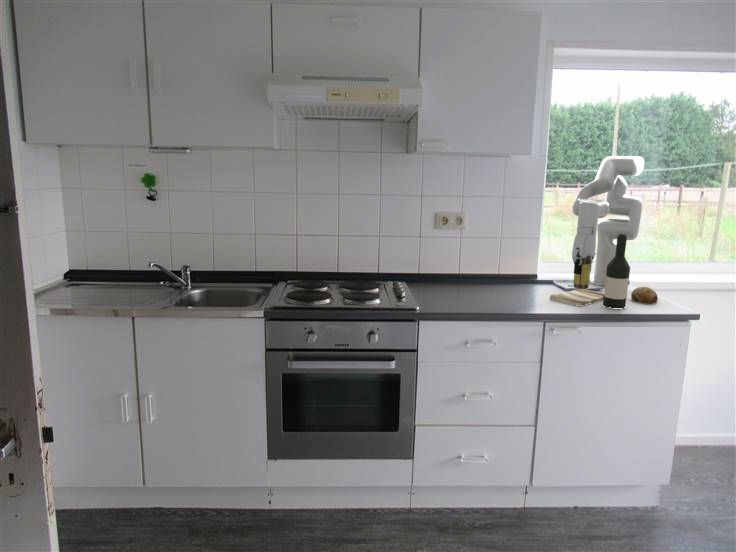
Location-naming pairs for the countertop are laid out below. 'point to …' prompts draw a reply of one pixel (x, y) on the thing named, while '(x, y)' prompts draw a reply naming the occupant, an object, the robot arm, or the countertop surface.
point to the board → (578, 297)
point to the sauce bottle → (583, 274)
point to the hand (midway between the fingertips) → (582, 272)
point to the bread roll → (644, 295)
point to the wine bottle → (617, 276)
